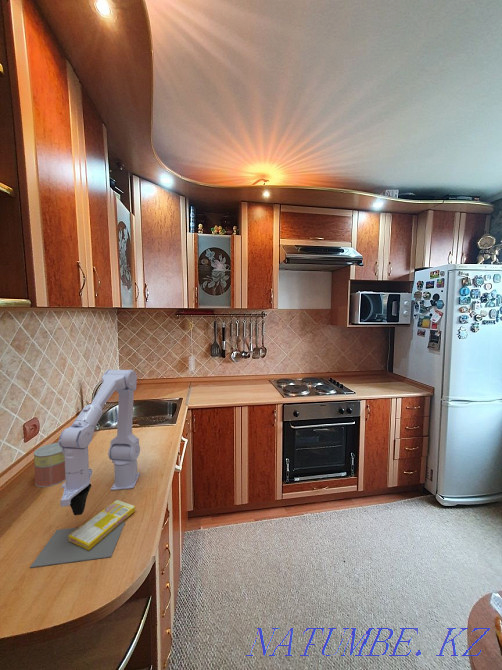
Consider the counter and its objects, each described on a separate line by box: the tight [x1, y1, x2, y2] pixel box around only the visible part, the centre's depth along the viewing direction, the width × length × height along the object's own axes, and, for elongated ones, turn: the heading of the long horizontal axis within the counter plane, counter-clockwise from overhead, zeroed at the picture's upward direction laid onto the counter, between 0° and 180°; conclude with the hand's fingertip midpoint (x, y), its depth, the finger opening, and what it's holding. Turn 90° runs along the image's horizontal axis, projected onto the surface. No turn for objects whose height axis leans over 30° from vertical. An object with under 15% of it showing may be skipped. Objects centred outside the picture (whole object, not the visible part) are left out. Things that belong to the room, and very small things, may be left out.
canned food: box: [33, 441, 66, 488], centre depth 104 cm, size 11×11×12 cm
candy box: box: [68, 499, 136, 550], centre depth 80 cm, size 16×2×8 cm
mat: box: [29, 521, 126, 569], centre depth 74 cm, size 12×19×1 cm, turn 99°
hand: (79, 513), depth 77 cm, fingers closed
